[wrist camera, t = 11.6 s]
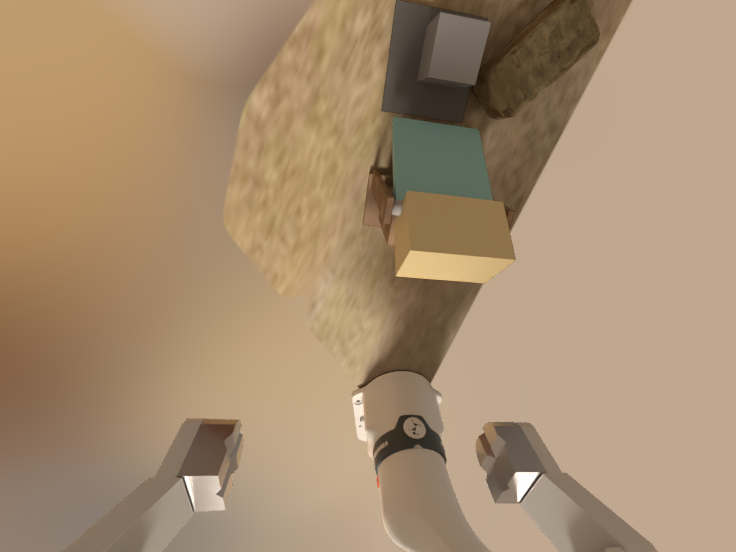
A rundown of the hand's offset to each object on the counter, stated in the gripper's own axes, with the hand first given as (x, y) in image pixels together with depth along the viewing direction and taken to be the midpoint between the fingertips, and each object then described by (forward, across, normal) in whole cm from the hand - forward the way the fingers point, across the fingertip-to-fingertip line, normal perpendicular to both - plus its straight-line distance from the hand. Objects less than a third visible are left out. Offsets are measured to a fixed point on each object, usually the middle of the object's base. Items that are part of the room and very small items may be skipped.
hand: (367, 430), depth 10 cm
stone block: (+34, -18, -17) cm, 42 cm away
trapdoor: (+25, -9, -2) cm, 27 cm away
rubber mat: (+34, -8, -15) cm, 38 cm away
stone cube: (+29, -9, -16) cm, 34 cm away
